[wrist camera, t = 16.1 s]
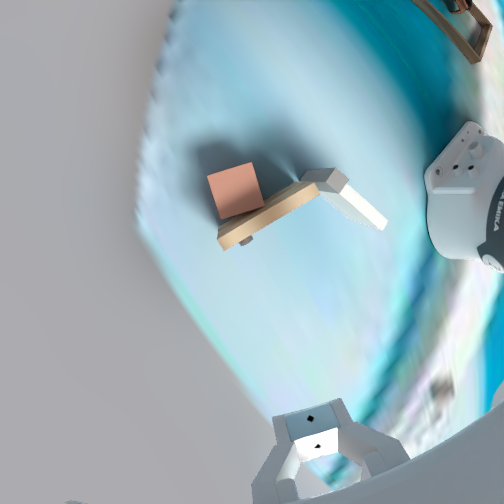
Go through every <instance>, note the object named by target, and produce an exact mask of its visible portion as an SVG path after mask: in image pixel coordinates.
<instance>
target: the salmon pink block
mask: <svg viewBox="0 0 504 504" xmlns="http://www.w3.org/2000/svg"><path fill="white" fill-rule="evenodd" d="M207 178H208V181H209V184H210V187H211V191H212V194H213V197H214V200H215V203H216V206H217V209H218V212H219V216H220V219H221V220H222V219H225V218H228V217H231V216H234V215H238V214H241V213H244V212H247V211H250V210H254V209H257V208H260V207H263V206H265V204H264V201H263V198H262V194H261V191H260V188H259V184H258V181H257V178H256V174H255V171H254V168H253V165H252V162H250V163H247V164H243V165H240V166H237V167H233V168H230V169H227V170H224V171H220V172H217V173H214V174H211V175H208V176H207Z"/></svg>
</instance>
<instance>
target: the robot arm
mask: <svg viewBox="0 0 504 504" xmlns="http://www.w3.org/2000/svg"><path fill="white" fill-rule="evenodd" d="M436 170H437V174H436ZM424 179H425V185H426V189H427V193H428V206H427V223H428V230H429V234H430V238H431V240H432V243H433V245H434V247H435V248H436V250H437V251H438V252H439V253H440V254H441V255H442V256H444V257H446V258H448V259H468V260H474V261H478V262H482V263H484V264H486V265H487V266H489V267H490V268H492V269H494V270H496V271H498V272H500V273H504V144H503V143H502V142H501V141H500V140H499V139H497V138H495V137H493V136H489V135H488V134H487V133H486V131H485V130H484V129H483V128H482V127H481V126H479V125H478V124H477V123H475V122H473V121H467V122H466V123H465V124H464V125H463V127H462V128H461V129H460V130H459V132H458V133H457V134H456V135H455V137H454V138H453V139H452V140H451V141H450V143H449V144H448V145H447V146H446V147H445V149H444V150H443V151H442V152H441V153H440V155H439V156H438V157H437V158H436V159H435V160H434V162H433V163H432V164H431V165H430V166H429V167H428V168H427V170H426V171H425V175H424ZM284 416H285V417H284ZM272 420H273V425H274V430H275V435H276V440H277V445H275V446H274V447H273V449H272V451H271V452H270V454H269V456H268V458H267V460H266V461H265V463H264V464H263V466H262V468H261V470H260V471H259V473H258V475H257V476H256V478H255V479H254V481H253V483H252V484H251V486H252V495H253V504H504V399H503V400H502V401H501V402H500V403H498V404H497V405H496V406H495V407H493V408H492V409H491V410H489V411H488V412H487V413H485V414H484V415H483V416H481V417H480V418H479V419H477V420H476V421H474V422H473V423H472V424H470V425H469V426H467V427H466V428H464V429H463V430H461V431H460V432H458V433H457V434H455V435H453V436H452V437H450V438H449V439H447V440H445V441H444V442H442V443H440V444H439V445H437V446H435V447H433V448H432V449H430V450H428V451H426V452H424V453H423V454H421V455H419V456H417V457H415V458H413V459H410V458H409V456H408V454H407V453H406V451H405V450H404V448H403V446H402V445H401V443H400V441H399V440H397V439H395V438H392V437H390V436H388V435H385V434H383V433H381V432H378V431H376V430H374V429H372V428H369V427H367V426H365V425H363V424H361V423H358V422H354V423H353V421H352V419H351V417H350V415H349V413H348V411H347V409H346V407H345V405H344V403H343V401H342V399H341V398H338V399H335V400H332V401H329V402H326V403H323V404H319V405H316V406H313V407H310V408H306V409H303V410H299V411H295V412H291V413H287V414H283V415H279V416H274V417H272ZM338 451H339V453H341V454H342V455H344V456H345V457H347V458H348V459H350V460H351V461H353V462H354V463H356V464H358V465H359V466H361V467H362V474H361V481H360V482H358V483H355V484H352V485H349V486H346V487H343V488H340V489H337V490H334V491H331V492H327V493H324V494H320V495H317V496H313V497H310V498H306V499H302V500H300V498H299V495H298V492H297V489H296V485H295V482H294V478H295V476H296V473H297V471H298V469H299V466H300V463H301V462H304V461H308V460H311V459H314V458H318V457H321V456H325V455H328V454H332V453H335V452H338ZM63 504H87V503H82V502H78V501H67V502H65V503H63Z"/></svg>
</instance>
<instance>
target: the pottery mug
mask: <svg viewBox="0 0 504 504" xmlns="http://www.w3.org/2000/svg"><path fill="white" fill-rule="evenodd" d="M455 1H456V3H457V4H458V7H459V10H457V11H452V13H453V14H461V13H463V12H465V11H466V10H469V11H471V10H472V0H455Z"/></svg>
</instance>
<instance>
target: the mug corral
mask: <svg viewBox="0 0 504 504" xmlns="http://www.w3.org/2000/svg"><path fill="white" fill-rule="evenodd" d="M411 1H412V2H413V3H414V4H415V5H416V6H418V7H419V8H420V9H421V10H422V11H423V12H424V13H425V14H426V15H427V16H428V17H429V18H430V19H431V20H432V21H433V22H434V23H435V24H436V25H437V26H438V27H439V28H440V29H441V30H442V31H443V32H444V33H445V34H446V35H447V36H448V37H449V38H450V39H451V40H452V42H453V43H454V44H455V45H456V46H457V47H458V48H459V49H460V51H461V52H462V53H463V54H464V55H465V57H466V58H467V59H468V60H469V62H470V63H471V64H474V63H477V62H480V61H481V59H482V57H483V54H484V51H485V48H486V45H487V42H488V39H489V36H490V33H491V30H492V27H493V26H492V24H491V23H490V22H489V21H488V19H487V18H486V17H485V16H484V15H483V13H482V12H481V11H480V10H479V9H478V8H477V7H476V5H475V4H474V3H473V2H472V10H471V11H469V10H468V11H469V12H470V13H471V14H472V16H473V17H474V18H475V19H476V20H477V21H478V23H479V24H480V25H481V26H482V27H483V29H482V32H481V34H480V37H479V40H478V42H477V45H476V47H475V50H473V48H472V47H471V46H470V45H469V43H468V42H467V41H466V40H465V39H464V38H463V36H462V35H461V34H460V33H459V32H458V31H457V30H456V29H455V27H454V26H453V25H452V24H451V23H450V22H449V21H448V20H447V19H446V18H445V17H444V16H443V15H442V14H441V13H440V12H439V11H438V10H437V9H436V8H435V7H434V6H433V5H432V4H431V3H430V2H429V1H428V0H411Z"/></svg>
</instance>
